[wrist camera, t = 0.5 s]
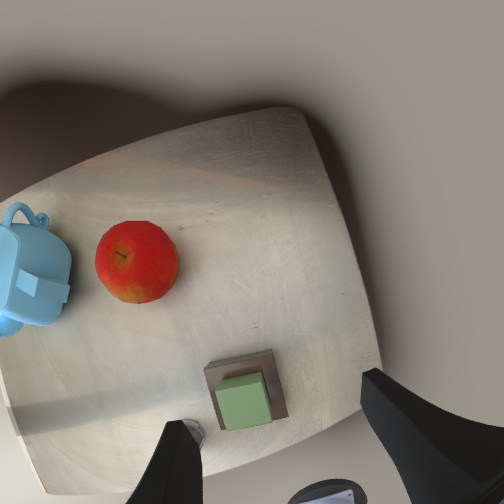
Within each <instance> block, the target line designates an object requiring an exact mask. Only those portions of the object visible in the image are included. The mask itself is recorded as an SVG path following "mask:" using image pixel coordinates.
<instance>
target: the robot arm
mask: <svg viewBox="0 0 504 504" xmlns="http://www.w3.org/2000/svg"><path fill="white" fill-rule="evenodd" d="M360 404H361V406H362V408H363V410H364V413H365V415H366V417H367V419H368V421H369V423H370V425H371V427H372V428H373V430H374V432H375V433H376V435H377V436H378V438H379V439H380V441H381V442H382V444H383V446H384V447H385V449H386V451H387V452H388V454H389V455H390V457H391V458H392V460H393V462H394V464H395V466H396V467H397V470H398V472H399V474H400V476H401V478H402V480H403V483H404V485H405V488H406V490H407V493H408V495H409V498H410V500H411V503H412V504H504V427H497V426H492V425H486V424H483V423H479V422H475V421H472V420H468V419H465V418H462V417H460V416H457V415H455V414H452V413H450V412H447V411H445V410H443V409H441V408H439V407H437V406H435V405H433V404H431V403H429V402H428V401H426V400H424V399H422V398H421V397H419V396H417V395H416V394H414V393H412V392H411V391H409V390H408V389H406V388H405V387H403V386H402V385H400V384H399V383H397V382H396V381H394V380H393V379H392V378H390V377H389V376H387V375H386V374H385V373H383V372H382V371H381V370H379V369H378V368H373V369H371V370H369V371H366V372H364V373H362V388H361V400H360ZM349 494H350V495H349ZM126 504H203V480H202V461H201V454H200V447H199V444H198V443H197V442H196V440H195V439H194V437H193V436H192V434H191V433H190V431H189V430H188V428H187V427H186V425H185V424H184V422H183V421H182V420H176V421H168V422H167V423H166V425H165V427H164V430H163V432H162V435H161V437H160V440H159V442H158V445H157V447H156V449H155V451H154V454H153V456H152V458H151V460H150V462H149V464H148V466H147V468H146V470H145V472H144V474H143V476H142V478H141V480H140V482H139V483H138V485H137V487H136V489H135V490H134V492H133V493H132V495H131V496H130V498H129V499H128V501H127V502H126ZM299 504H354V497H353V491H352V490H351V489H348V490H345V491H342V492H339V493H336V494H333V495H329V496H326V497H323V498H319V499H315V500H311V501H307V502H303V503H299Z"/></svg>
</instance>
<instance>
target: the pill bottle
mask: <svg viewBox="0 0 504 504" xmlns="http://www.w3.org/2000/svg"><path fill="white" fill-rule="evenodd" d="M182 421H183V422H184V424H185V425H186V427H187V428H188V430H189V431H190V433H191V434H192V436H193V437H194V439H195V440H196V442H197V443H198V444H199V447H200V450H201V447H202V445H203V443H204V440H205V433H204V430H203V429H202V427H201V426H200V425H199V424H197V423H196V422H194V421H191V420H182Z"/></svg>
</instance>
